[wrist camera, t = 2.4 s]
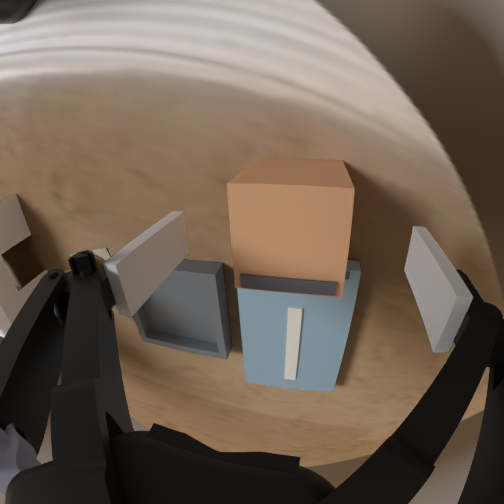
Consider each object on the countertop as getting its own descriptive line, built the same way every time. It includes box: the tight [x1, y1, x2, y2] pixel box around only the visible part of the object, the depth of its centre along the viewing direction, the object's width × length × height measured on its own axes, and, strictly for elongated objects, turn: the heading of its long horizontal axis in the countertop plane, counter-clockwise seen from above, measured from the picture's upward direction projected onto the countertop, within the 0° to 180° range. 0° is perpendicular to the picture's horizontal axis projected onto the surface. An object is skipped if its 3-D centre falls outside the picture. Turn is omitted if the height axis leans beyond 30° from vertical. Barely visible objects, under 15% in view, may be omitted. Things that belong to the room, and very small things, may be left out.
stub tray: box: [133, 259, 232, 359], centre depth 28 cm, size 11×11×2 cm
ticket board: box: [237, 260, 361, 392], centre depth 26 cm, size 16×10×2 cm, turn 3°
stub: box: [227, 158, 355, 297], centre depth 18 cm, size 6×6×8 cm
